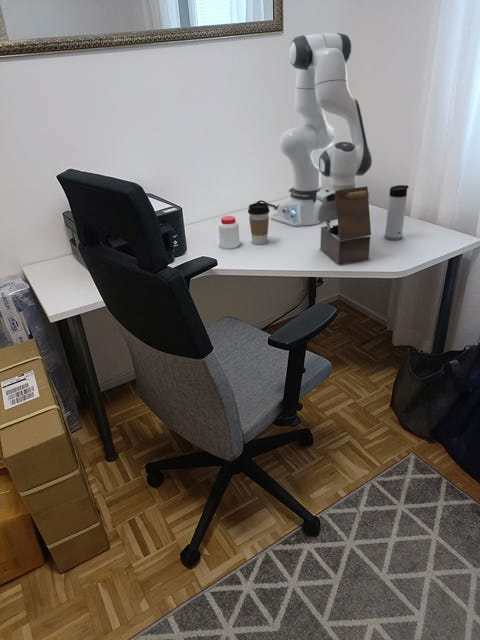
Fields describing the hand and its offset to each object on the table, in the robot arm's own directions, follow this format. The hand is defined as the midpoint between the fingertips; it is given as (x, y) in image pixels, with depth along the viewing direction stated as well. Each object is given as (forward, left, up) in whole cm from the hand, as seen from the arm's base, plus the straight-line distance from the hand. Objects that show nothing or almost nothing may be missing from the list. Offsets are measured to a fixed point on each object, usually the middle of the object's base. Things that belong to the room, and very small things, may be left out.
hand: (340, 229), depth 179 cm
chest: (+3, -2, -8) cm, 9 cm away
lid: (+7, -5, +9) cm, 12 cm away
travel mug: (+11, +23, -8) cm, 27 cm away
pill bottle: (-39, -17, -8) cm, 43 cm away
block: (0, 0, -7) cm, 7 cm away
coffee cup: (-31, -8, -8) cm, 33 cm away
